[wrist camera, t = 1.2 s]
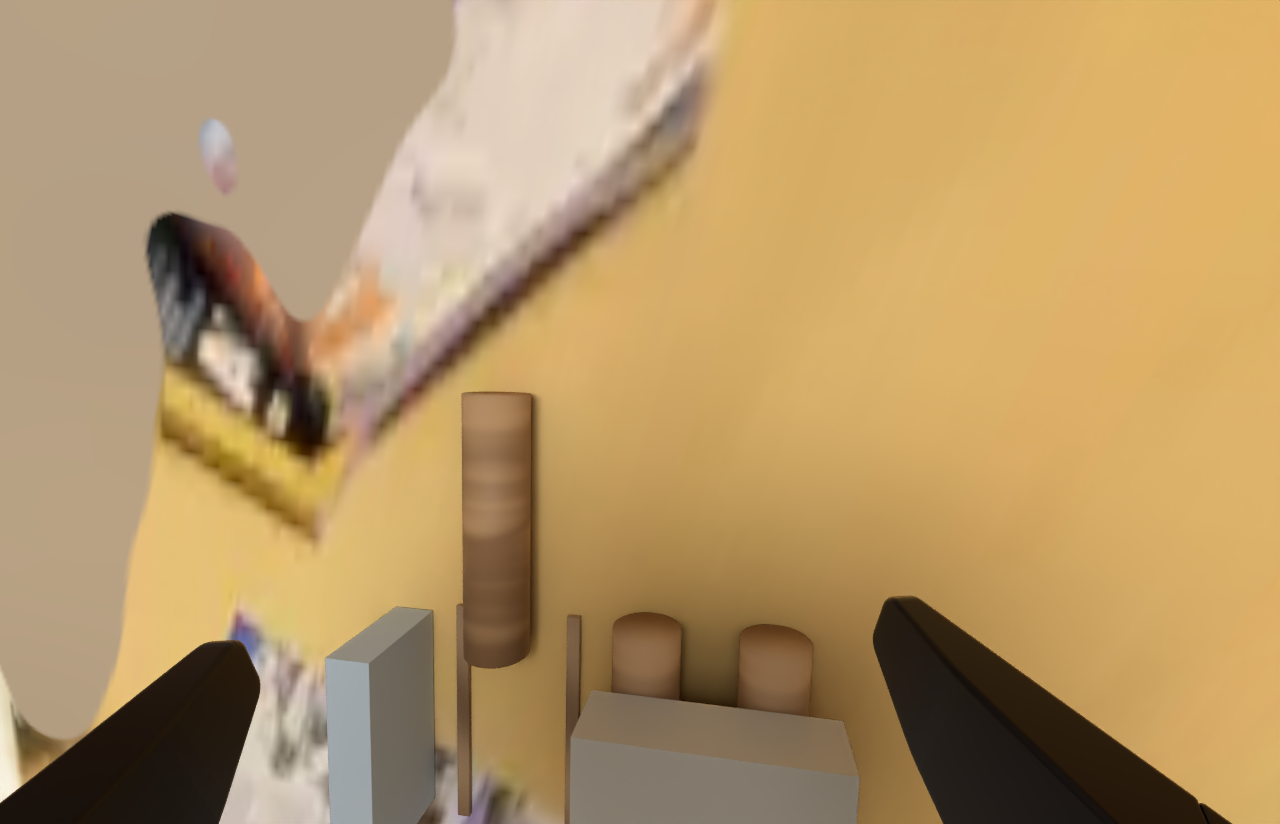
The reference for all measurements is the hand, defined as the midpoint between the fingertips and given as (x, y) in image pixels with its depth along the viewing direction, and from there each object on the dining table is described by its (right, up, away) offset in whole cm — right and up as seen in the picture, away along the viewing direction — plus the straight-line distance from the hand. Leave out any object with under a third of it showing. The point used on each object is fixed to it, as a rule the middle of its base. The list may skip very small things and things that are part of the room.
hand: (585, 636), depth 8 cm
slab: (+4, -12, +15) cm, 20 cm away
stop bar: (-11, -12, +21) cm, 26 cm away
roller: (-5, -2, +19) cm, 20 cm away
